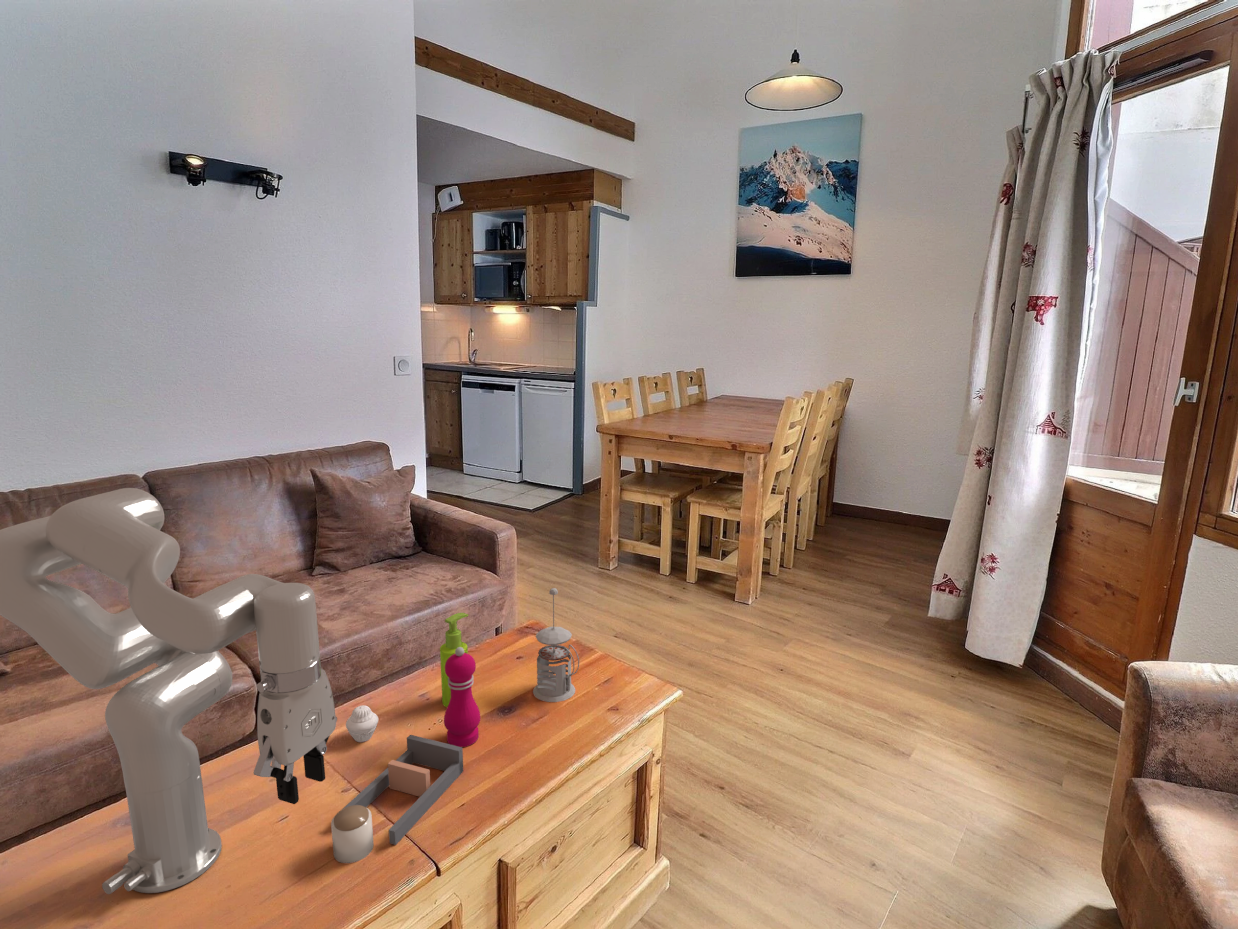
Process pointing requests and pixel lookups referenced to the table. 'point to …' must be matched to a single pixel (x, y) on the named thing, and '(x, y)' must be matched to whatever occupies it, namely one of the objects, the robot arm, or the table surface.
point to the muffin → (362, 723)
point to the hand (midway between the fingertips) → (302, 788)
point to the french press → (549, 684)
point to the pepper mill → (461, 700)
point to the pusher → (408, 778)
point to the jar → (352, 834)
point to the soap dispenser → (450, 652)
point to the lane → (433, 757)
